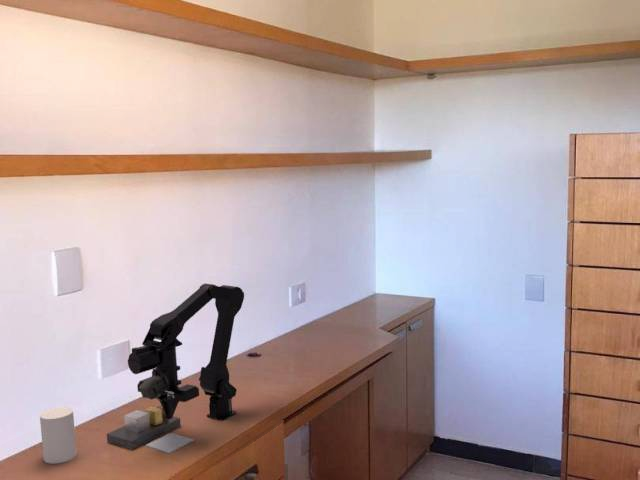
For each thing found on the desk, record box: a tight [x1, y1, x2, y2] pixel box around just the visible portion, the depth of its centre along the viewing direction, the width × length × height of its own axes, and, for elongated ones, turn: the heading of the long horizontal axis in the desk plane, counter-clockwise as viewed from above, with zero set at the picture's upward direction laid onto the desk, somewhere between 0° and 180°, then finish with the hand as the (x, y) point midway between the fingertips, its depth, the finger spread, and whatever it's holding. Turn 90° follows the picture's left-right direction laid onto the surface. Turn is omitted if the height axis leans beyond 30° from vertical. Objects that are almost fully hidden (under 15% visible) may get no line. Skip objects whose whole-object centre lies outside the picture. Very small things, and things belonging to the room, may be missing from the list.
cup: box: [39, 406, 78, 465], centre depth 174 cm, size 8×8×12 cm
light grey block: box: [123, 409, 150, 433], centre depth 185 cm, size 4×5×4 cm
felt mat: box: [145, 432, 194, 454], centre depth 180 cm, size 9×9×1 cm
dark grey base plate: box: [106, 405, 182, 451], centre depth 186 cm, size 18×10×6 cm, turn 146°
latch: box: [144, 406, 162, 425], centre depth 187 cm, size 2×4×4 cm, turn 57°
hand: (169, 418), depth 184 cm, fingers closed
